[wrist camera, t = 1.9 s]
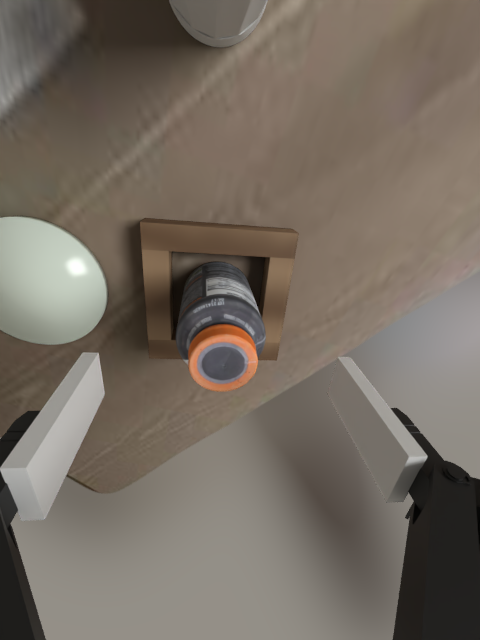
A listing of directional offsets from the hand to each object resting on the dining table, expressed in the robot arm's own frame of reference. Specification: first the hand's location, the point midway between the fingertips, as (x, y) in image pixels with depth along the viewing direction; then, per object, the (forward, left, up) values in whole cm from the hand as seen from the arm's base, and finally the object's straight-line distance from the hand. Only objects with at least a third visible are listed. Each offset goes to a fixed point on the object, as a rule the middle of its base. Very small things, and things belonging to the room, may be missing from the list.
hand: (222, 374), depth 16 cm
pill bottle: (0, 0, -12) cm, 12 cm away
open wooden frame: (0, 0, -12) cm, 12 cm away
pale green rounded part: (0, -15, -12) cm, 19 cm away
